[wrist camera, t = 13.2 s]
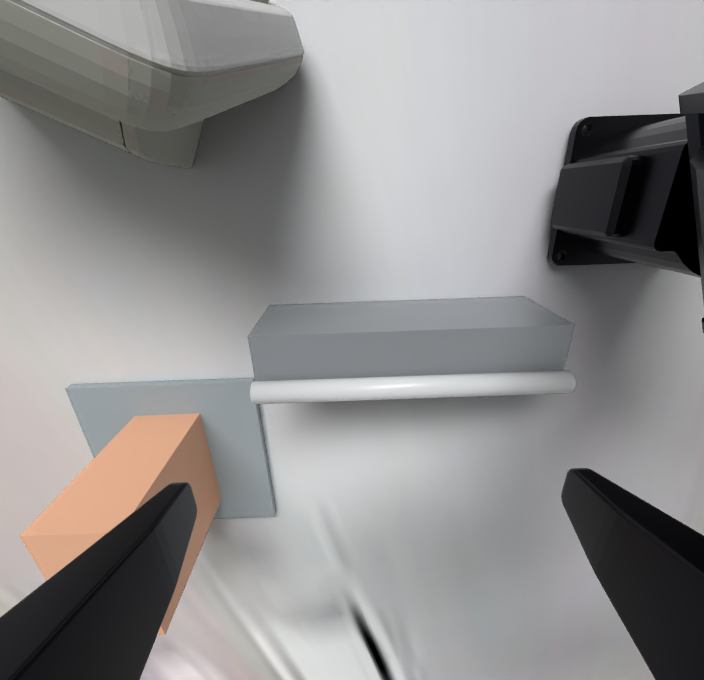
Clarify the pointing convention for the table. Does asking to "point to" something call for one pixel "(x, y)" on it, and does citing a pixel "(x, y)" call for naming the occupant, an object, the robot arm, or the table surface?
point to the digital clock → (144, 65)
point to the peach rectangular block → (129, 493)
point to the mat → (218, 421)
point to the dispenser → (409, 350)
